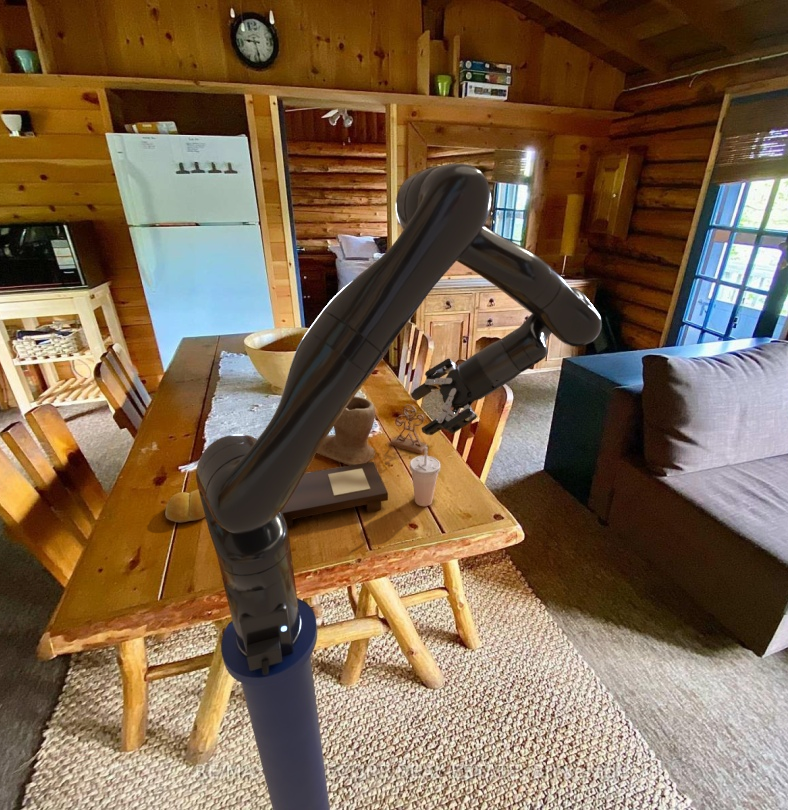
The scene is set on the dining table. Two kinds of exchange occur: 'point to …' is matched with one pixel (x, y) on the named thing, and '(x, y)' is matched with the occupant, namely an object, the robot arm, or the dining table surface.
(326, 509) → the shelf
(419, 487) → the smoothie
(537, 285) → the robot arm
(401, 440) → the gingerbread man figurine
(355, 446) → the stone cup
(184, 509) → the bread roll
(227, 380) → the dining table surface
